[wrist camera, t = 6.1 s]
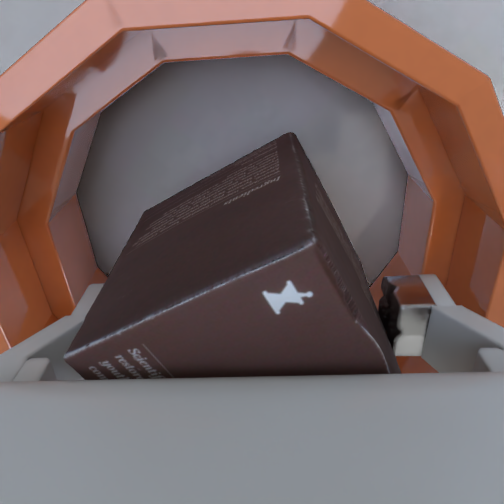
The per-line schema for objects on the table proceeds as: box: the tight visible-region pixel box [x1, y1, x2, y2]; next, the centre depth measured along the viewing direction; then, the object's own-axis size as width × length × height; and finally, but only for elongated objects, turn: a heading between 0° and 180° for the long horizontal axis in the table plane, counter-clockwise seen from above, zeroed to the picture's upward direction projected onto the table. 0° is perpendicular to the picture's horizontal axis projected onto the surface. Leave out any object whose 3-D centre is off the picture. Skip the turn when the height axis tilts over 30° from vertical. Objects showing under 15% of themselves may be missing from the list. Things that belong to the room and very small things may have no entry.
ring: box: [0, 0, 504, 374], centre depth 16 cm, size 18×18×6 cm
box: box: [64, 132, 402, 380], centre depth 12 cm, size 6×6×7 cm
